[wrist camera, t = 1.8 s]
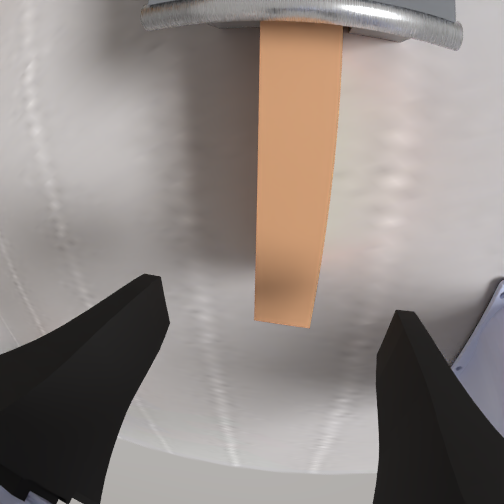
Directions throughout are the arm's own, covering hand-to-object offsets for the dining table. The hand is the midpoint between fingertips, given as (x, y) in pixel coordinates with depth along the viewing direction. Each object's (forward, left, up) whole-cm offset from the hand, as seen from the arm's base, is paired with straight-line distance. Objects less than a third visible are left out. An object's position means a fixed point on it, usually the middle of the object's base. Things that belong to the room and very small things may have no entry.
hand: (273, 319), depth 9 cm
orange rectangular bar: (+5, 0, -8) cm, 9 cm away
